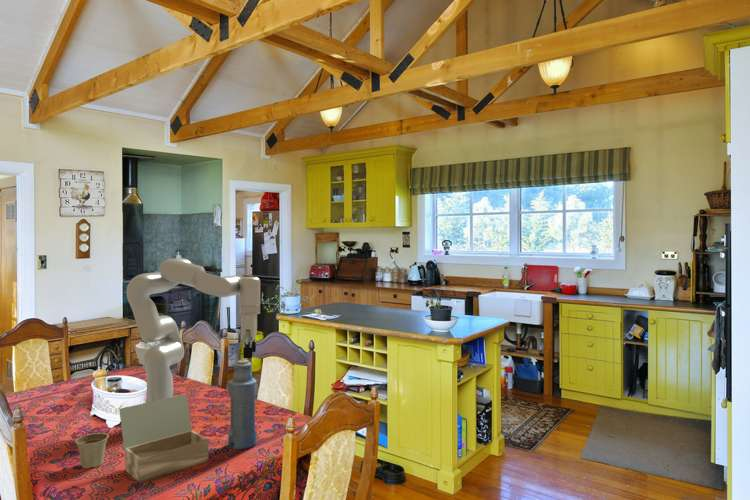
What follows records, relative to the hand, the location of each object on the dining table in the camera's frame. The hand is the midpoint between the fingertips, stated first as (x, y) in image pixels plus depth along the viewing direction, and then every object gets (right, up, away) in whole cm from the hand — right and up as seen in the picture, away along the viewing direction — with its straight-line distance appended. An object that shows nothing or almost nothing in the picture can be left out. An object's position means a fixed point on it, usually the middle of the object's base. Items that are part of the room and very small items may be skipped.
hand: (249, 354), depth 194 cm
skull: (-58, -28, +54) cm, 85 cm away
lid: (-25, -17, -22) cm, 38 cm away
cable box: (-20, -30, -28) cm, 45 cm away
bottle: (0, -30, -11) cm, 32 cm away
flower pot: (-44, -30, -27) cm, 60 cm away
